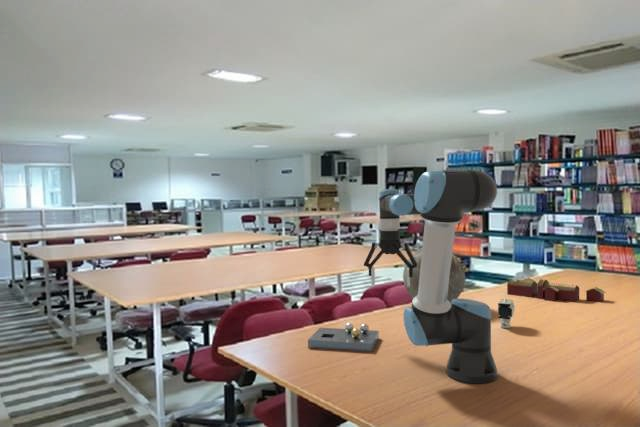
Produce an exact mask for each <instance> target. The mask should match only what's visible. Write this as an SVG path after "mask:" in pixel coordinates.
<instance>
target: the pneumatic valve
mask: <svg viewBox="0 0 640 427" xmlns="http://www.w3.org/2000/svg"><path fill="white" fill-rule="evenodd" d="M497 306H498V307H497V309H498V310H497V316H498V317H497V318H498V319H501V320H500V322H501V323H500V324H501V326H500V328H502V329H503V328H504V329H507V330H509V329H510V328H511V319H512V318H513V315H514V313H515V302H514V300H512V299H507V298H504V299H503V298H501V299H500V300H499V302H498V303H497Z"/></svg>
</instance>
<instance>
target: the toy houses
mask: <svg viewBox="0 0 640 427" xmlns="http://www.w3.org/2000/svg"><path fill="white" fill-rule="evenodd" d="M506 284H507V286H506V289H507V290H506V291H507V293H506V294H507V295H509V296H517V297H518V296H519V297H523V296H524V297H525V298H534V297H536V296H537V300H544V301H545V302H546V301H548V302H557V301H559V300H560V301H561V302H567V301H568V302H569V303H576V302H578V301H580V287H579V286H578V285H575V284H574V285H573V284H572V285H569V284H567V283H566V284H564V283H562V284H561V283H555V282H549V281H548V280H547V279H544V278H543V279H542V278H541V279H540V280H539V281H538V282H536V281H535V280H534V279H532V278H530V277H526V278H523V279H515V278H514V279H512V278H509V280H508V282H507V283H506ZM585 292H586V300H585V301H586V302H592V303H593V302H595V303H602V302H604V301H605V298H604V297H605V294H606V291H605V290H603V289H602V288H599V287H597V286H595V287H592V288H589V289H587V290H585V291H584V293H585ZM568 302H567V303H568Z"/></svg>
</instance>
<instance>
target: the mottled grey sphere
mask: <svg viewBox="0 0 640 427" xmlns="http://www.w3.org/2000/svg"><path fill="white" fill-rule="evenodd" d="M412 255H413V257H414V259H415V260H416V262H417V264H418V266H417V267H415V268H413V276H412V277H410V286H407V269H408V266H407V265H406V264H405V265H404V269H403V273H402V278H403V279H402V280H403V284H404V288H405V290H406V292H407V294H408V295H409V296H410V298H412V300H413V298H414V297H416V296H417V295H418V288H419V278H420V267H421V257H422V248H421V249H419V250H418V251H416V252H414V253H412ZM407 260H408V261H409V262H410V263H411V264H412V262H411V260H410V258H409V259H407ZM412 265H413V264H412ZM465 282H466V274H465V269H464V267H463V264H462V262H461V261H460V259H459V258H458V257H457V256H456V255H455V254H453V253H452V260H451V268H450V277H449V286H448V294H447V300H448V301H449V302H450V303H451V301H452V299H456V298H459V297H460V296H461V294H462V292H463V290H464V287H465V284H466V283H465Z"/></svg>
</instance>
